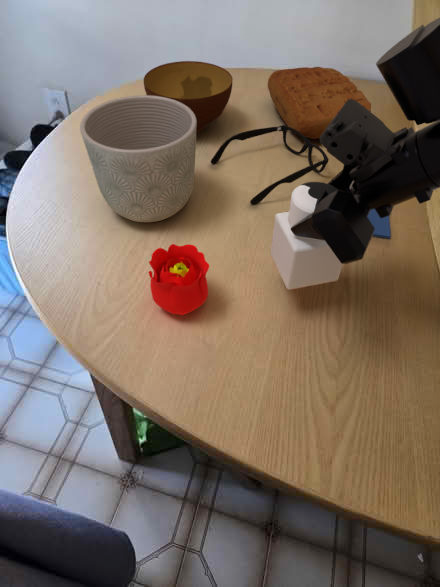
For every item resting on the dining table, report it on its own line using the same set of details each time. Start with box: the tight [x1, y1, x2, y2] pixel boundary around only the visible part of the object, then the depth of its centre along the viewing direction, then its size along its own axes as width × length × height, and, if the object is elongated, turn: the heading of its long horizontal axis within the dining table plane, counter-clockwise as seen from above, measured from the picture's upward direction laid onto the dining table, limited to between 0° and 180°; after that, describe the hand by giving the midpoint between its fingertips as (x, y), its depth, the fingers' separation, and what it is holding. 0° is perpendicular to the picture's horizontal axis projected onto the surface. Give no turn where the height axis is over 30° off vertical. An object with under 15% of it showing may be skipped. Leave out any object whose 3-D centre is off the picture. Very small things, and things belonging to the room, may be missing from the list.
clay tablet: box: [267, 66, 372, 140], centre depth 91 cm, size 22×17×8 cm
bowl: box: [143, 60, 234, 134], centre depth 88 cm, size 18×18×10 cm
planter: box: [79, 94, 197, 223], centre depth 68 cm, size 17×17×15 cm
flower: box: [148, 243, 210, 316], centre depth 57 cm, size 8×8×8 cm
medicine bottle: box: [270, 181, 344, 291], centre depth 53 cm, size 7×7×12 cm
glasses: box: [210, 124, 330, 205], centre depth 80 cm, size 17×18×5 cm
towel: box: [368, 209, 392, 240], centre depth 73 cm, size 11×12×1 cm
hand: (302, 216), depth 52 cm, fingers closed on medicine bottle, 6 cm apart
